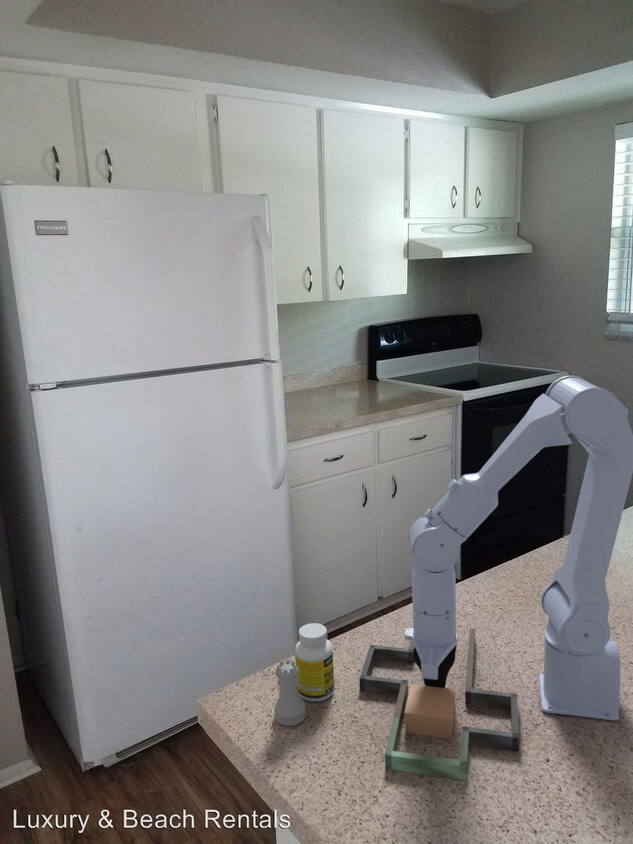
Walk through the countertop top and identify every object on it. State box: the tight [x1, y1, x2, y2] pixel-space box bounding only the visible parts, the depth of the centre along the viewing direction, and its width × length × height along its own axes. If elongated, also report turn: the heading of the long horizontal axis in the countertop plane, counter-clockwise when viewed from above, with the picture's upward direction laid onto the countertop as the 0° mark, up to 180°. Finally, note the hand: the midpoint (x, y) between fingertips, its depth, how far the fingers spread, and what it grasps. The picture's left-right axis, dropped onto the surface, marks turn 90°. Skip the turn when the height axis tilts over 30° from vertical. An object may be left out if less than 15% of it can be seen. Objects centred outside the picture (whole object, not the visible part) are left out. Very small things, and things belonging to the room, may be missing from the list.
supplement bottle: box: [294, 622, 335, 703], centre depth 92 cm, size 5×5×10 cm
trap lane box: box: [358, 628, 520, 782], centre depth 91 cm, size 22×30×2 cm
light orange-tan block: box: [404, 683, 456, 740], centre depth 86 cm, size 6×6×3 cm
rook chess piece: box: [273, 659, 308, 727], centre depth 88 cm, size 4×4×8 cm
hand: (435, 693), depth 90 cm, fingers closed
